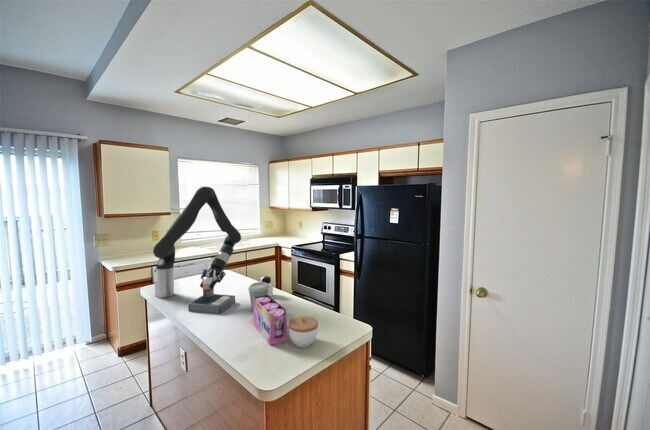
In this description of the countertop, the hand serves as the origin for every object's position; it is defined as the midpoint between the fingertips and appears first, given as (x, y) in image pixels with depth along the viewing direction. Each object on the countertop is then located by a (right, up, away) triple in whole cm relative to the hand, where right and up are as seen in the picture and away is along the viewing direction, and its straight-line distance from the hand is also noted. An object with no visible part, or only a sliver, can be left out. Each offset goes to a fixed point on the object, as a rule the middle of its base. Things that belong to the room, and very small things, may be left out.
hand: (205, 287), depth 149 cm
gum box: (+39, -15, -23) cm, 48 cm away
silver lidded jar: (+1, -5, +2) cm, 5 cm away
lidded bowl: (+55, -15, -32) cm, 66 cm away
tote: (+3, -12, +2) cm, 12 cm away
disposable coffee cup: (+29, -13, -1) cm, 32 cm away
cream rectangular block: (+8, -11, +1) cm, 14 cm away
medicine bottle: (+28, -11, +22) cm, 37 cm away
